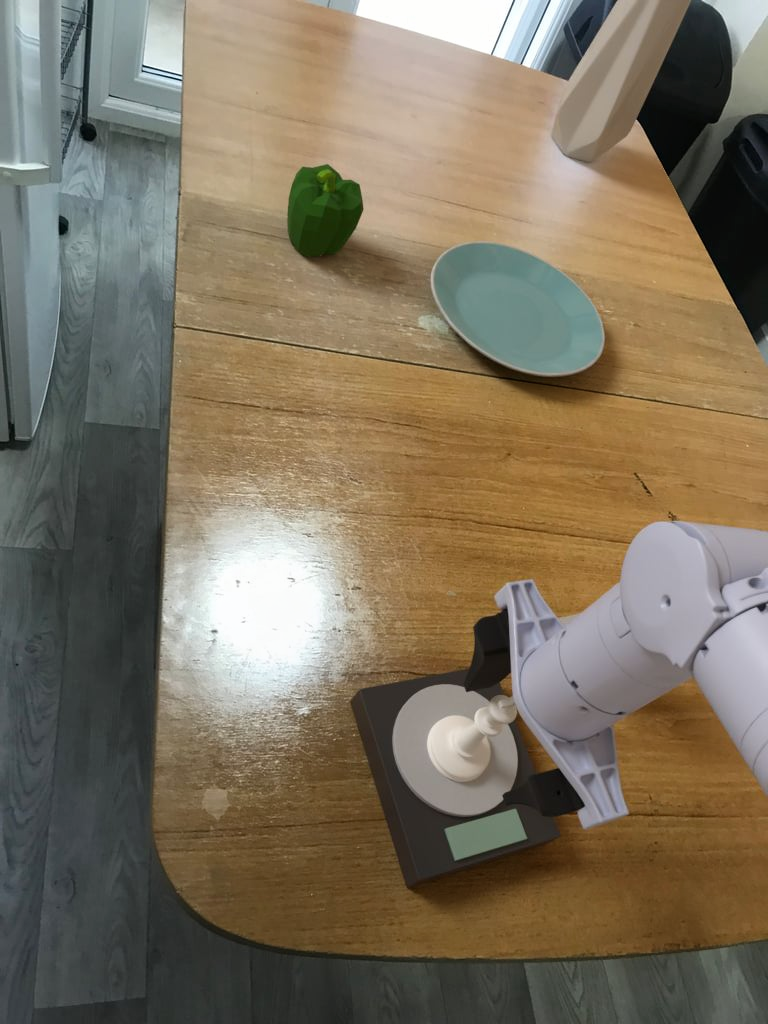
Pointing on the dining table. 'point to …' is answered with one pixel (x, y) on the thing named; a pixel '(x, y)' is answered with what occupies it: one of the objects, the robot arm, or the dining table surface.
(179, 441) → the dining table surface
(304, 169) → the bell pepper
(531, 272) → the plate
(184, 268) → the dining table surface
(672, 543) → the robot arm
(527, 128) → the dining table surface
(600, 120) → the vase
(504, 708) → the chess piece
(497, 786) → the scale
